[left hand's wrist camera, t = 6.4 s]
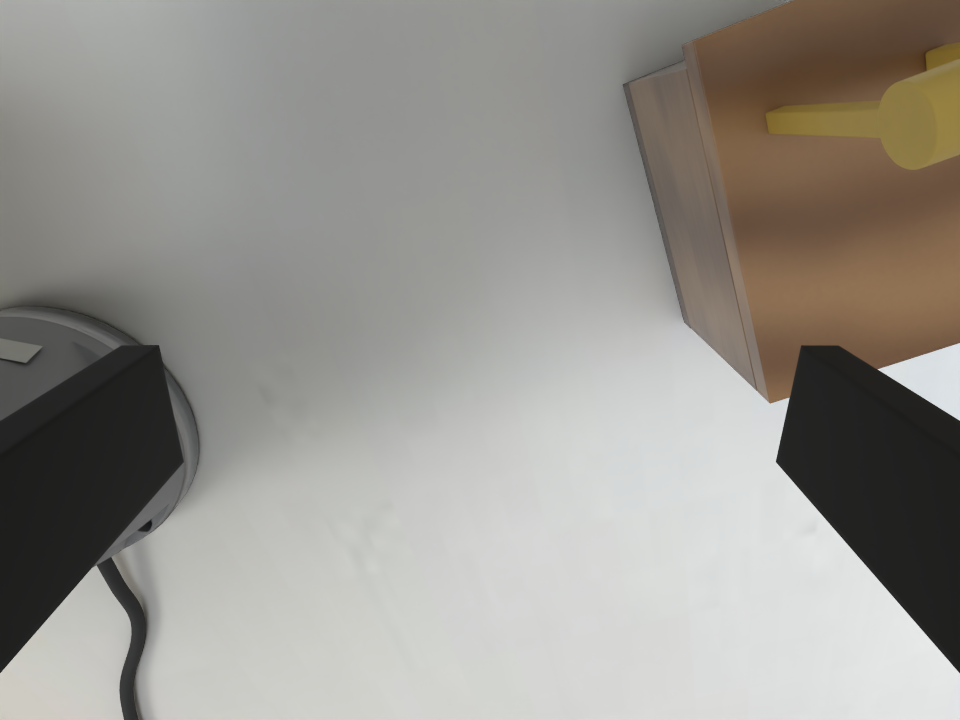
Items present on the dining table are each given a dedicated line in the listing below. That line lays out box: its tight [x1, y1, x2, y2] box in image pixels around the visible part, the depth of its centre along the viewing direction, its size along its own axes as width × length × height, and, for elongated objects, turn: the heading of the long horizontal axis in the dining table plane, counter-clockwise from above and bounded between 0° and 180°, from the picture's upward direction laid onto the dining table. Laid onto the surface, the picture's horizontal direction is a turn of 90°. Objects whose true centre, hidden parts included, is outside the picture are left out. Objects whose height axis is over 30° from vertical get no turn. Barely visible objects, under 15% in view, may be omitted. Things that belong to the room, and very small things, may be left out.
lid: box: [682, 0, 960, 403], centre depth 17 cm, size 14×9×9 cm
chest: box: [623, 60, 757, 391], centre depth 26 cm, size 13×9×9 cm
